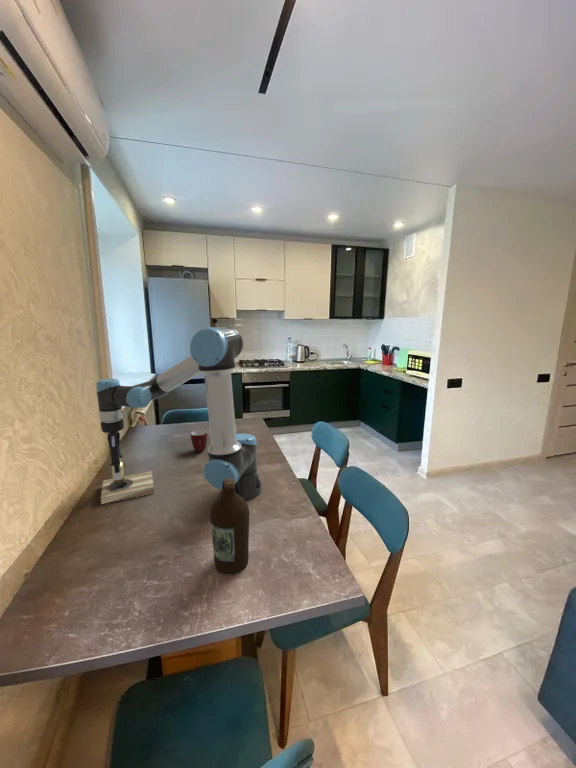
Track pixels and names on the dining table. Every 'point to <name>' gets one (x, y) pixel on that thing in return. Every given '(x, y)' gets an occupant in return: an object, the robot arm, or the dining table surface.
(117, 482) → the cylinder with metal cap
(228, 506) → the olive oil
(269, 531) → the dining table surface
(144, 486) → the jig
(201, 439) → the mug
